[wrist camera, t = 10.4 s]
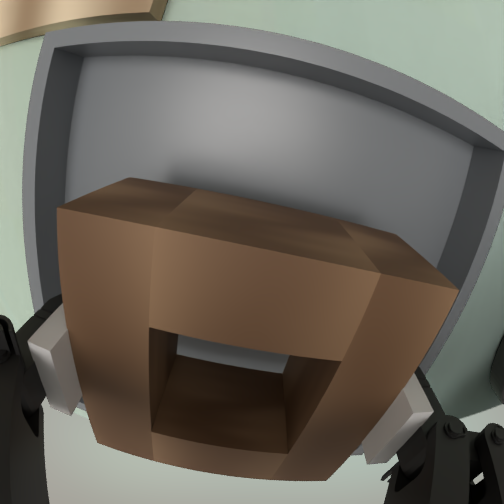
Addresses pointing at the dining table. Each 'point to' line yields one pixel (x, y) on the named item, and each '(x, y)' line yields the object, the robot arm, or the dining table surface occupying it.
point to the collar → (239, 326)
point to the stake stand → (70, 15)
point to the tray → (258, 145)
